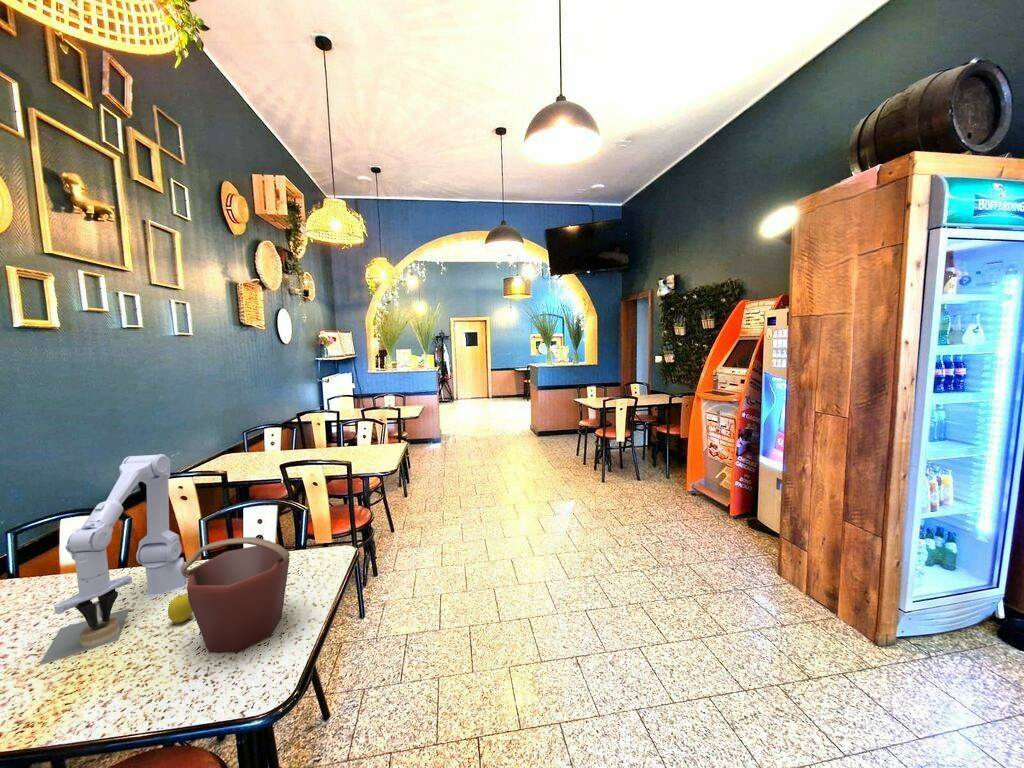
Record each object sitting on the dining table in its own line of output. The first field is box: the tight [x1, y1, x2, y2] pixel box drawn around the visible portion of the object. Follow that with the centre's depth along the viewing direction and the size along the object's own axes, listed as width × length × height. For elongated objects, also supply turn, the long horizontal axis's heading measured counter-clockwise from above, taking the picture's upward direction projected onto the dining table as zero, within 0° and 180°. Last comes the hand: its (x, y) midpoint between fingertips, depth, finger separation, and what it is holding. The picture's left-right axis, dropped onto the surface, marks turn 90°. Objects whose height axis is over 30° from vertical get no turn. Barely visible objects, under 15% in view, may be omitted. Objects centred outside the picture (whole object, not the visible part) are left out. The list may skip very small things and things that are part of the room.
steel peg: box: [93, 600, 105, 631], centre depth 108 cm, size 2×2×8 cm
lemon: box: [167, 594, 193, 624], centre depth 114 cm, size 6×6×8 cm
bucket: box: [181, 536, 291, 654], centre depth 109 cm, size 24×22×25 cm
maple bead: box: [80, 618, 120, 647], centre depth 108 cm, size 7×7×3 cm
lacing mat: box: [38, 607, 130, 666], centre depth 109 cm, size 14×17×1 cm
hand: (99, 623), depth 108 cm, fingers closed on steel peg, 2 cm apart
